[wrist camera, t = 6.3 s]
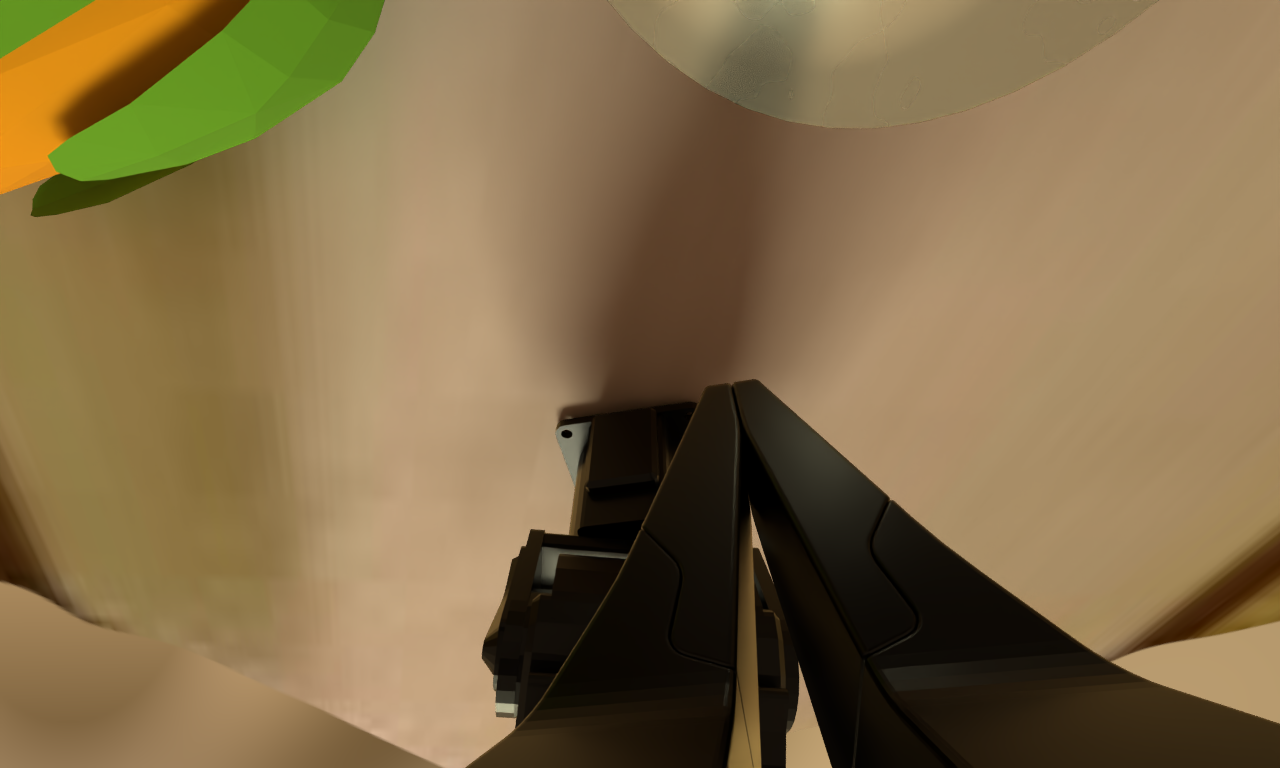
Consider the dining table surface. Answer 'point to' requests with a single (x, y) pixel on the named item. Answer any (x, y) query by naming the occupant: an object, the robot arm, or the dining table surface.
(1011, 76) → the lid
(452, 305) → the dining table surface
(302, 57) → the corn
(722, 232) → the dining table surface
